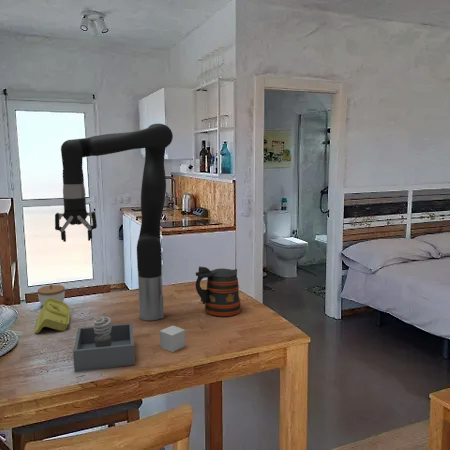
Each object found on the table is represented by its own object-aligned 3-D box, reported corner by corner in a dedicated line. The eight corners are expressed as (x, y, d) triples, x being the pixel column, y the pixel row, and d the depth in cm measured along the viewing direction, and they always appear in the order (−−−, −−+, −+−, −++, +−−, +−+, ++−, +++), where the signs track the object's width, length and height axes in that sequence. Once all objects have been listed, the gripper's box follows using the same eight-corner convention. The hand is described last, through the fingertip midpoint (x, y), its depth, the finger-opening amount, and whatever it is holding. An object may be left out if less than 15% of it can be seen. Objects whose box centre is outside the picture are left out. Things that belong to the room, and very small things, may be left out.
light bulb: (96, 348, 150) (94, 314, 148) (113, 348, 151) (112, 313, 149) (93, 356, 145) (91, 321, 143) (111, 355, 145) (109, 320, 143)
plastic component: (69, 325, 167) (42, 317, 163) (61, 342, 168) (33, 335, 164) (69, 303, 185) (45, 296, 182) (62, 319, 186) (38, 312, 182)
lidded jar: (42, 312, 186) (41, 290, 184) (35, 305, 194) (34, 284, 192) (69, 307, 192) (67, 285, 190) (61, 300, 200) (59, 279, 199)
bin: (132, 340, 159) (132, 323, 158) (134, 364, 142) (134, 345, 141) (79, 346, 155) (77, 328, 154) (74, 371, 138) (73, 351, 137)
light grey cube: (160, 347, 154) (159, 330, 153) (173, 341, 158) (172, 325, 157) (172, 352, 150) (171, 335, 149) (185, 346, 155) (184, 329, 154)
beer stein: (206, 322, 175) (205, 272, 171) (189, 310, 187) (188, 263, 184) (247, 313, 185) (247, 265, 181) (228, 302, 197) (228, 257, 193)
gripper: (51, 198, 157) (55, 244, 160) (94, 197, 160) (97, 241, 163) (54, 195, 164) (57, 239, 167) (95, 194, 168) (97, 237, 170)
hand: (77, 240), depth 165 cm, fingers open, 8 cm apart
